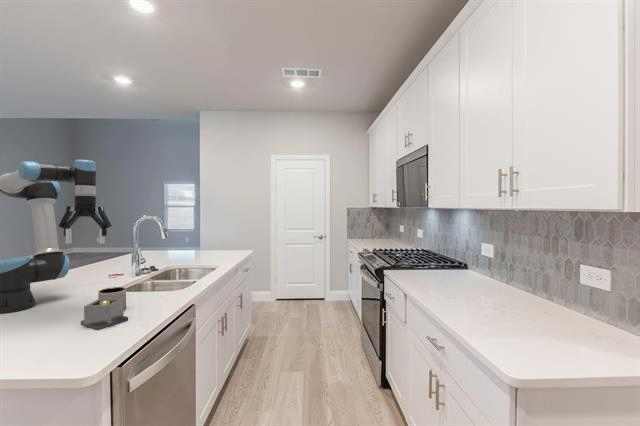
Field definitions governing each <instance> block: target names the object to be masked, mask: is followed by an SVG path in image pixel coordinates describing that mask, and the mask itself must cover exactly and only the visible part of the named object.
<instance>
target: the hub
mask: <svg viewBox="0 0 640 426" xmlns="http://www.w3.org/2000/svg"><path fill="white" fill-rule="evenodd" d="M100 305H110V300H102V301H100ZM128 321H129V317H128V316H126V315H122V316H121V317H119V318H118V319H116V320H115V321H114V322H112V323H99V324H84V319H83V320H80V325H81V326H84V327H86V328H89V329H90V330H91V329H92V330H94V331H101V330H103V329H107V328H109V327H112V326H116V325H118V324H123V323H124V322H128Z"/></svg>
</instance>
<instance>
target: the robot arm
mask: <svg viewBox="0 0 640 426" xmlns="http://www.w3.org/2000/svg"><path fill="white" fill-rule="evenodd" d="M96 180H97V166H96V162H95V161H94V160H91V159H90V160H88V159H75V160H74V164H73V165H69V164H58V163H57V164H56V163H49V162H40V161H39V162H38V161H28V160H26V161H25V160H23V161H21V162H20V163H19V165H18V169H17V170H16V171H13V172H7V173H3V174H1V175H0V193H1V194H2V195H4V196H7V197H9V198H14V199H25V200H26V204H28V205H30V207H31V215H32V223H33V231H34V233H33V234H34V240H35V241H34V242H35V249H36V250H35V251H36V252H34V254H33V255H32V258H31V257H30V256H27V255H26V256H15V257H10V258H6V259H2V260H0V314H8V313H14V312H19V311H24V310H27V309H31V308H33V307H35V306H36V299H35V297H34V294H33V292H32V291H31V284H33V283H41V282H47V281H55V280H59V279H62V278H65V277H66V276H67V275H68V272H69V271H70V265H71V263H70V256H68V255H67V254H64V251H63V250H61V249H60V246H59V240H58V231H57V224H56V216H55V215H56V214H55V208H54V204H55V203H56V202H57V199H60V197H61V186H60V183H59V182H61V183H68V184H69V183H70V184H74V195H75V196H74V206H72V205H69V206H66V210H65V213H64V215H63V217H62V218H61V220H60V222H59V224H58V227H59V228H61V229H63V236H64V237H65V244H66V245H69V244H73V241H72V240H73V230H72V228H71V227H72V226H73V224H74V223H75V222H76V221H78V220H79V218H81V217H87V218H88V217H90V218H91V219H93V220H94V222H95V224H97V225H98V226H99V227H100V228H99V244H100V245H101V244H102V245H103V244H105V243H106V236H107V235H108V229H109V228H112V226H113V225H112V224H111V221H110V219H109V217H108V216H107V214H106V212H105V208H104V206H97V205H96V204H97V197H96V196H95V195H97V181H96ZM96 211H97V213H98V214H99V216H98V214H97V213H96ZM73 212H75V213H73ZM72 214H73V216H72Z"/></svg>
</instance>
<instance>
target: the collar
mask: <svg viewBox="0 0 640 426" xmlns="http://www.w3.org/2000/svg"><path fill="white" fill-rule="evenodd" d="M102 300H110V305H100V301H102ZM124 311H125V309H124V298H122V299H98V298H97V299H95V300H94V301H92V302H90V303H88V304H86V305H84V306H83V320H84V324H99V323H112V322H114V321H115V320H116V319H118V318H119V317H121V316H122V315H123V316H125V312H124Z"/></svg>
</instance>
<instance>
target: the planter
mask: <svg viewBox="0 0 640 426" xmlns="http://www.w3.org/2000/svg"><path fill="white" fill-rule="evenodd" d="M122 298H124V310H126V308H127V288H126V287H123V286H115V287H114V286H113V287H107V288H103V289H99V290H98V295H97V300H98V299H122Z"/></svg>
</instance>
